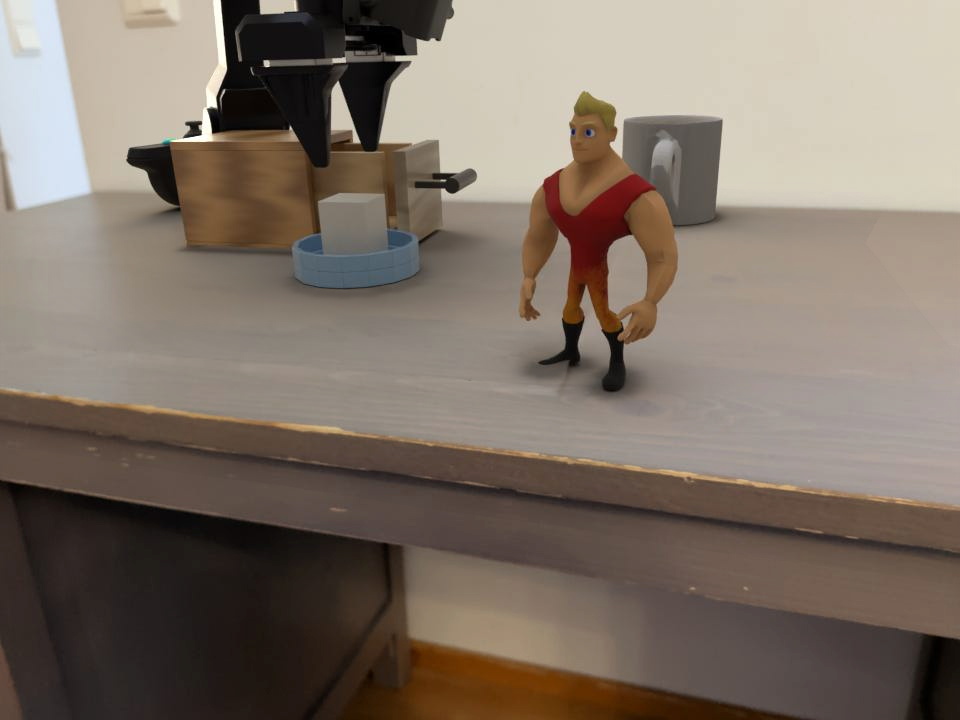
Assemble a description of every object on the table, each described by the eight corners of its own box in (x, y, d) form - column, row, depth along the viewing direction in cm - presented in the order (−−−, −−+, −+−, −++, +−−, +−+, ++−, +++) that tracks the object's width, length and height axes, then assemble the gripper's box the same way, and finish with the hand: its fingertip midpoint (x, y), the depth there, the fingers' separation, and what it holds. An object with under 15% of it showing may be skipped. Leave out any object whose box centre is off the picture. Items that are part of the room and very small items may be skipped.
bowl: (329, 259, 70) (326, 226, 69) (435, 264, 67) (433, 229, 66) (273, 291, 61) (269, 253, 60) (394, 297, 58) (391, 258, 57)
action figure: (499, 364, 45) (494, 91, 40) (536, 347, 48) (536, 88, 42) (644, 406, 39) (661, 93, 34) (677, 384, 42) (699, 89, 36)
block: (345, 264, 66) (339, 192, 64) (389, 265, 65) (384, 193, 63) (325, 276, 63) (317, 201, 60) (371, 278, 62) (365, 202, 59)
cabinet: (361, 230, 81) (352, 129, 78) (315, 254, 72) (303, 141, 68) (245, 226, 85) (231, 130, 81) (187, 249, 75) (169, 141, 72)
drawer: (483, 226, 77) (480, 139, 74) (455, 248, 69) (452, 151, 66) (328, 221, 81) (320, 139, 78) (285, 242, 73) (274, 151, 70)
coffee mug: (638, 204, 90) (642, 114, 86) (725, 211, 85) (733, 115, 82) (593, 227, 79) (595, 125, 76) (689, 235, 75) (697, 127, 71)
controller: (234, 200, 101) (222, 119, 97) (156, 217, 91) (139, 129, 87) (210, 198, 103) (198, 119, 99) (131, 215, 93) (114, 128, 89)
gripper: (386, -98, 44) (403, 179, 50) (473, -60, 61) (479, 145, 67) (214, -85, 47) (249, 176, 53) (343, -51, 64) (359, 145, 70)
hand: (347, 159), depth 61 cm, fingers open, 9 cm apart
